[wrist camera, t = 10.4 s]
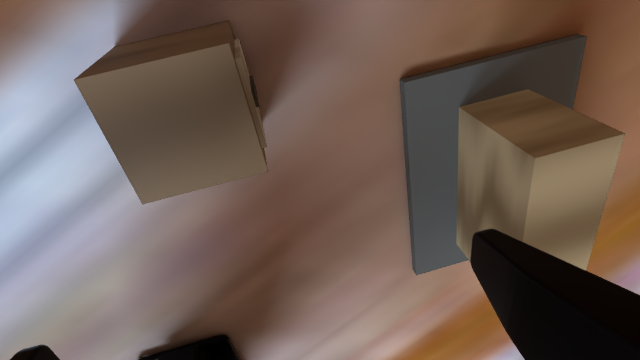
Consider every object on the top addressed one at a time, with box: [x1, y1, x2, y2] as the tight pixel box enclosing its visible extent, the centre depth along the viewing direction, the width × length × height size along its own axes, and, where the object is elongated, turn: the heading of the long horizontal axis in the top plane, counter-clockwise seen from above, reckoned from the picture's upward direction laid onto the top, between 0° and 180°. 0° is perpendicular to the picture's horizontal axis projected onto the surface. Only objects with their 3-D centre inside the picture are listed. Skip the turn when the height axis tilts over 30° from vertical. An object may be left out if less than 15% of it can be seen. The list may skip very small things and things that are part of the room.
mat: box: [400, 34, 587, 275], centre depth 23 cm, size 14×10×1 cm
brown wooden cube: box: [74, 20, 268, 204], centre depth 16 cm, size 5×5×5 cm
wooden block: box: [456, 89, 625, 270], centre depth 20 cm, size 10×4×6 cm, turn 11°
